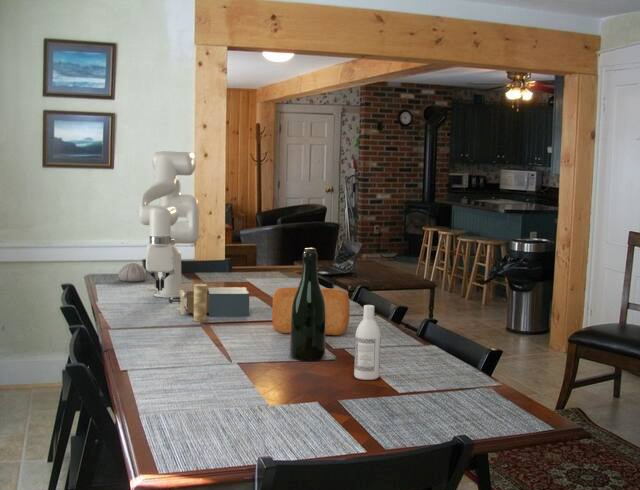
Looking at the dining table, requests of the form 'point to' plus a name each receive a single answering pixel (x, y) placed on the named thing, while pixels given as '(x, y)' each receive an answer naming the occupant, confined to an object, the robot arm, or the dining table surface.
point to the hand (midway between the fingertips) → (160, 290)
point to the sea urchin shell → (132, 273)
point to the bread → (334, 310)
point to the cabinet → (228, 301)
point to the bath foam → (367, 347)
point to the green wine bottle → (308, 313)
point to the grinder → (200, 302)
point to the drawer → (189, 301)
